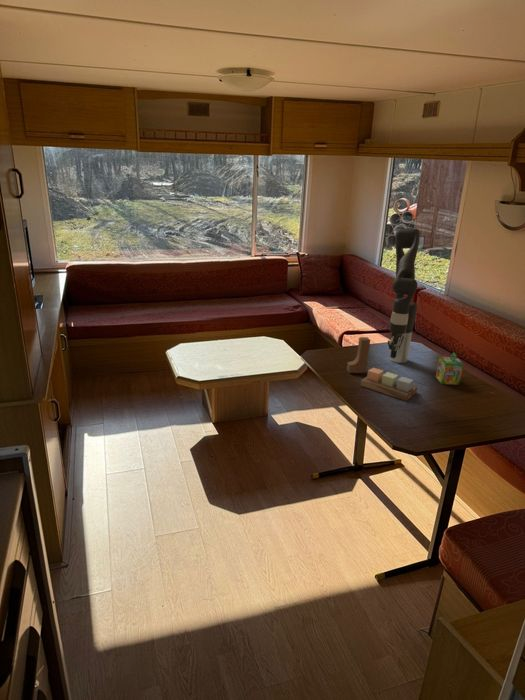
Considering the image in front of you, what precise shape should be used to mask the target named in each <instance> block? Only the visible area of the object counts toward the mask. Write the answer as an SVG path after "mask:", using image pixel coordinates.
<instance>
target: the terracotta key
mask: <svg viewBox="0 0 525 700" xmlns="http://www.w3.org/2000/svg"><path fill="white" fill-rule="evenodd" d="M382 375H384V369H379V368H376V367H372V368H370V369H368V371H367V376H366V377H367V379H368V380H371V381H374V382H377V383H378V382H380V381H381V380H382Z"/></svg>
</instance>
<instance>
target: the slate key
mask: <svg viewBox="0 0 525 700" xmlns="http://www.w3.org/2000/svg"><path fill="white" fill-rule="evenodd" d="M412 386H414V379H412V378H409V377H405V376H401V377H399V378H398V380H397V386H396V389H399V390H402V391H405V392H409V391H411V390H412Z"/></svg>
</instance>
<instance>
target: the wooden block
mask: <svg viewBox="0 0 525 700" xmlns="http://www.w3.org/2000/svg"><path fill="white" fill-rule="evenodd" d="M357 344H358V345H357V353H356V357H355V358H354V360H352V361H347V366H346V371H347V372H348V374H366V373H367V367H368V366H367V365H368V359H369V353H370V344H371V339H370V338H369V337H367V336H366V337H364V336H363V337H362V336H361V337H360V336H359V339H358V343H357Z"/></svg>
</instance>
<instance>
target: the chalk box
mask: <svg viewBox="0 0 525 700" xmlns="http://www.w3.org/2000/svg"><path fill="white" fill-rule="evenodd" d="M438 359H439V360H438V365H437V368H436V371H435V372H436V373H435V376H434V377H435V378H436V379H437V381H438V382H439V383H440V384H441V385H451V386H452V385H453V386H460V382H461V379H462V378H461V377H462V374H463V373H462V372H463V369H464V363H463V361H461V359H460V358H458V355H457V354H456V353H455V352H452V353H451V355H450V356H439V357H438Z"/></svg>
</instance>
